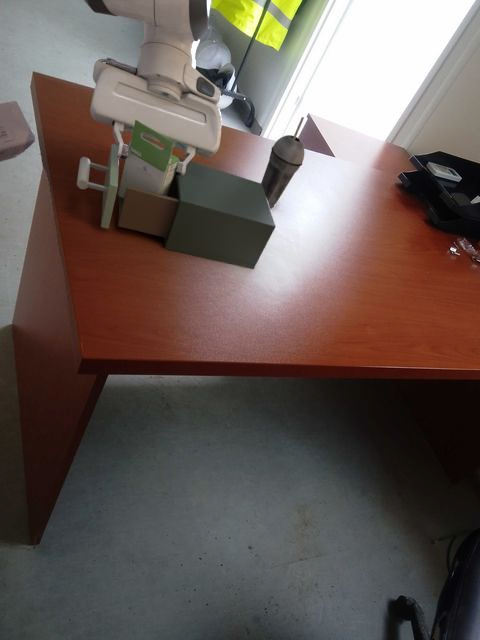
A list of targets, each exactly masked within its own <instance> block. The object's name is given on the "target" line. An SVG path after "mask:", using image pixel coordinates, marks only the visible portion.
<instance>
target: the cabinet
mask: <svg viewBox="0 0 480 640" xmlns="http://www.w3.org/2000/svg"><path fill="white" fill-rule="evenodd" d="M176 157H177V158H179V162H183V161H184V160H185V159H186V158H182V157H179V156H176ZM176 178H177V187H178V196H179V204H178V207H177V210H176V213H175V216H174V219H173V222H172V225H171V228H170V231H169V234H168V237H167V238H165V237H163V241H164V242H163V243H164V249H165V250H168V251H172V252H177V253H181V254H186V255H191V256H194V257H195V256H196V257H199V258H204V259H208V260H212V261H216V262H221V263H225V264H230V265H233V266H239V267H242V268H247V269H250V270H251V269H252V270H254V269H255V267H256V266H257V264H258V262H259V259H260V258H261V256H262V255H263V252H264V250H265V249H266V246H267V244H268V243H269V240H270V239H271V237H272V235H273V233H274V231H275V229H276V223H275V220H274V216H273V214H272V211H271V208H269V205H268V201H267V198H266V195H265V192H264V189H263V186H262V184H261V182H258V181H255V180H251V179H248V178H245V177H242V176H239V175H236V174H232V173H229V172H226V171H223V170H220V169H216V168H214V167H210V166H207V165H204V164H201V163H197V162H196V161H195V162H194V161H192V160H190V161H189V163H188V164H187V165H186V170H185V174H184V176H183V177H182V176H178V175H176Z"/></svg>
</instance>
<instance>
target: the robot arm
mask: <svg viewBox="0 0 480 640" xmlns="http://www.w3.org/2000/svg"><path fill="white" fill-rule="evenodd" d="M83 1H84V2H85V3H86V5H87V6H88V7H89V8H90V10H91V11H92V12H94V13H95V14H100V15H108V16H113V17H121V18H125V19H129V20H133V21H135V22H139V23H143V32H144V33H143V35H144V36H143V39H142V42H141V44H140V45H139V50H138V57H137V65H136V67H135V66H132V65H129V64H127V63H123V62H120V61H117V60H116V59H114V58H111V57H106V58H100V59H97V61H95V62H94V65H93V71H92V79H93V82H94V83H95V86H94V90H93V93H92V98H91V103H90V108H89V114H90V116H91V118H92V119H93V121H95V122H98V123H99V124H104V125H106V126H110V127H113V128H112V136H113V138H114V142H115V145H117V146H118V151H117V157H118V158H119V159H122V160H124V161H126V159H127V156H128V150H129V144H125V143H124V141H123V137H122V136H123V133H124V131H125V132H128V133H131V134H133V129H134V124H135V119H136V120H138V121H139V122H141V123H143V124H144V125H146V126H148V127H150V128H151V129H153V130H155V131H156V132H158V133H160V134H161V135H163V136H165V137H167V138H168V139H170V140H172V141H173V142H175V144H174V147H173V148H177V149H179V150H183V157H185V158H184V159H185V160H184V161H183V162H179V161H178V165H177V168H176V171H175V175H178V176H182V177H183V176H184V174H185V170H186V165H187V164H188V163H189V161H192V159H193V158H194V157H195V156H196V155H198V156H201V157H204V158H211V157H213V155H215V154H217V152H218V151H219V149H220V145H221V136H222V114H221V109H220V108H219V107H218V104H219V102H220V99H221V97H222V96H221V95H222V92H221V89H220V88H219V87H218V86H217V85H215V84H214V83H213V82H211V80H209V79H208V78H206V77H205V76H204V75H203V74H202V73H200V72H199V71H198V70H197V69H196V67H197V64H196V51H197V49H198V47H199V46H200V45H199V44H200V41H201V39H202V38H203V37H204V36H205V35H206V34H207V32H208V31H209V20H210V15H211V8H212V4H213V0H83ZM142 136H144V137H145V138H147V139H148V140H151V141H156V142H159V143H161V142H160V141H159V140H158V139H156V138H155V137H154V136H152V135H149V134H145V133H143V134H142Z"/></svg>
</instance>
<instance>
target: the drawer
mask: <svg viewBox="0 0 480 640" xmlns="http://www.w3.org/2000/svg"><path fill="white" fill-rule="evenodd" d="M117 151H118V146H117V144H116V143H111V147H110V151H109V157H108V161H107V166H105V165H102V164H98V163H94V162H91V160H90V159H89V158H88V156H87V157H86V156H81V158H80V159H79V165H78V172H77V180H76V186H77V187H78V188H79V189H81V190H86V189H88V188H90V189H94V190H97V191H100V192H102V204H101V220H100V228H103V229H107V230H109V229H110V226H111V225H110V224H111V219H112V217H113V215H112V214H113V212H114V211H113V210H114V206H115V203H116V202H115V201H116V196H117V194H118V189H119V169H120V168H119V167H120V166H119V165H120V158H118V157H117ZM91 168H92V169H95V170H97V171H102V172H105V177H104V182H103V185H101V184H98V183H95V182H90V180H89V179H90V172H91ZM178 204H179V196H178V187H177V178H176V175H175V174H174V177H173V180H172V183H171V186H170V189H169V192H168V195H167V196H164V195H161V194H157V193H154V192H150V191H146V190H143V189H139V188H136V187H132V186H128V185H127V188H126V192H125V197H124V198H122V197H120V196H119V195H118V215H117V216H118V219H117V226H118V228H119V227H120V228H124V229H128V230H131V231H135V232H140V233H145V234H149V235H153V236H157V237H160V238H161V237H162V238H164V237H165V238H167V237H168V234H169V231H170V228H171V225H172V222H173V219H174V216H175V213H176V210H177V207H178Z"/></svg>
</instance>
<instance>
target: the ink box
mask: <svg viewBox="0 0 480 640" xmlns="http://www.w3.org/2000/svg"><path fill="white" fill-rule="evenodd" d="M143 133H145V134H149V135H152V136H154V137H155V138H156V139H158V140H159V141H160V142H159V143H161V144H162V146H163V147H161V146H160V145H158V144H156V142H153V140H151V139H149V138H146V137H144V136H142V134H143ZM131 134H132V135H131V140H130V141H129V143H128V146H129V150H128V156H127V159H126V160H124V161H125V162H124V165H123V170H122V174H121V180H120V183H119V186H118V190H117V195H118V197H119V196H120V197H122V198H124V197H125V192H126V188H127V185H128V186H132V187H136V188H139V189H143V190H146V191H150V192H154V193H157V194H161V195H164V196H167V195H168V192H169V189H170V186H171V183H172V180H173V177H174V174H175V171H176V168H177V165H178V161H179V158H180V157H179V158H177V157H178V156H176V155H174V154H173V149H174V148H175V147H174V144H175V142H173V141H172V140H170V139H168V138H167V137H165V136H163V135H161V134H160V133H158V132H156V131H155V130H153V129H151V128H150V127H148V126H146V125H144V124H143V123H141V122H139V121H138V120H136V119H135V124H134V129H133V133H131Z"/></svg>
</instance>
